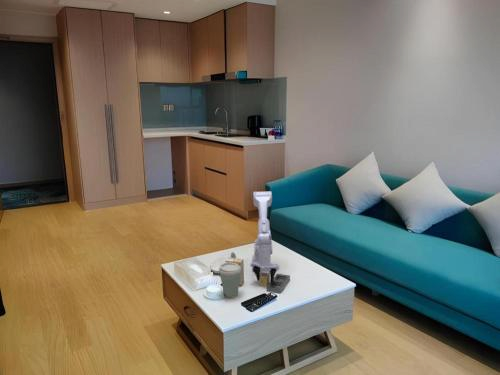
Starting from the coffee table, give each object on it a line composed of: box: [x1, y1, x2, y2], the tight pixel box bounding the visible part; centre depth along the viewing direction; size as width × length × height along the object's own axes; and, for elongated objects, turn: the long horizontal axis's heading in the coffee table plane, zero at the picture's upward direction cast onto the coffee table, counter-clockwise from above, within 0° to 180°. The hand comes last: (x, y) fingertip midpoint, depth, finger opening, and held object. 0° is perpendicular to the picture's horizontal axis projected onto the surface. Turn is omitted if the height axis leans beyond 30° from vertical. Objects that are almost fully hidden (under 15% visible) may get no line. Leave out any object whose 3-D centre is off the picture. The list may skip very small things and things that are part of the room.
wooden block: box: [259, 272, 270, 288], centre depth 195 cm, size 4×4×6 cm
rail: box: [266, 273, 291, 294], centre depth 194 cm, size 7×16×2 cm, turn 158°
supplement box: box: [226, 257, 245, 287], centre depth 196 cm, size 8×5×13 cm, turn 71°
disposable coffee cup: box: [219, 262, 241, 299], centre depth 183 cm, size 11×11×15 cm
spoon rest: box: [209, 251, 237, 275], centre depth 216 cm, size 24×12×7 cm, turn 161°
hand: (265, 281), depth 195 cm, fingers open, 6 cm apart
